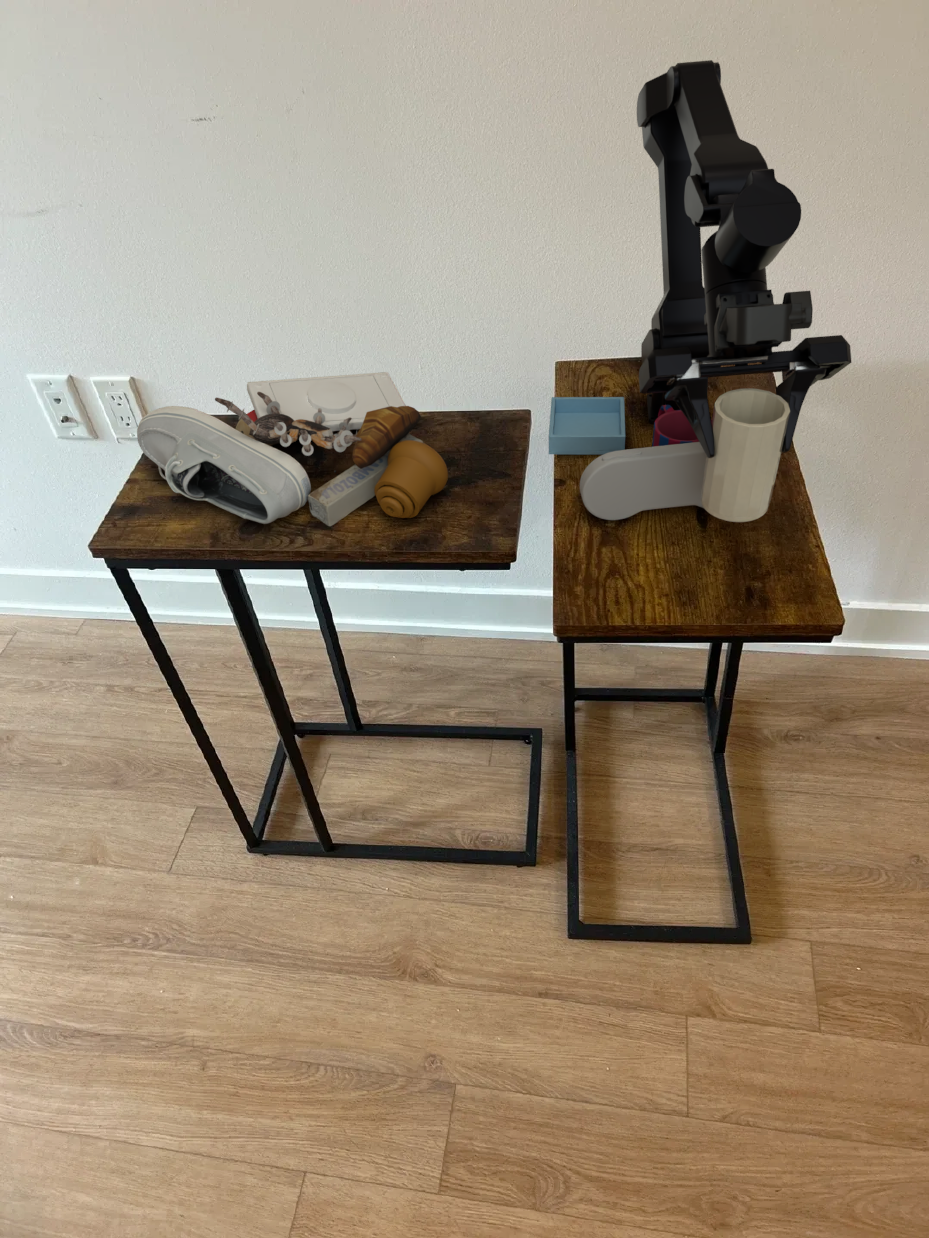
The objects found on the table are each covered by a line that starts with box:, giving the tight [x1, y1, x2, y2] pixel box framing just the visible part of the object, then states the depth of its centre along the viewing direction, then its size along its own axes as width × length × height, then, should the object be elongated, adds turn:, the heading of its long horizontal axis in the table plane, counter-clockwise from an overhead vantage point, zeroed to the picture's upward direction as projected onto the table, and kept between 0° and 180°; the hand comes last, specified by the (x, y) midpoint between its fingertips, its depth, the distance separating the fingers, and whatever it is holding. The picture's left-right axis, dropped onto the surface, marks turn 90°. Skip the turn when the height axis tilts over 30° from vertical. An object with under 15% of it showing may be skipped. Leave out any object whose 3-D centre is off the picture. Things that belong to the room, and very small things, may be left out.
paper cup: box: [701, 388, 790, 523], centre depth 86 cm, size 7×7×11 cm
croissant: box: [352, 405, 422, 469], centre depth 103 cm, size 14×7×5 cm
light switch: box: [246, 371, 407, 432], centre depth 115 cm, size 11×2×19 cm
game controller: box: [579, 442, 707, 521], centre depth 97 cm, size 20×2×8 cm, turn 95°
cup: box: [651, 405, 712, 447], centre depth 103 cm, size 7×10×7 cm
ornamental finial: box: [374, 440, 449, 519], centre depth 101 cm, size 8×8×8 cm
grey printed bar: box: [307, 432, 424, 527], centre depth 105 cm, size 4×16×5 cm
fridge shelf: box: [548, 396, 626, 456], centre depth 111 cm, size 9×9×3 cm
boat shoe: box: [136, 405, 312, 525], centre depth 104 cm, size 25×9×8 cm
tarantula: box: [214, 392, 362, 457], centre depth 105 cm, size 16×17×5 cm
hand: (748, 454), depth 84 cm, fingers closed on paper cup, 7 cm apart
